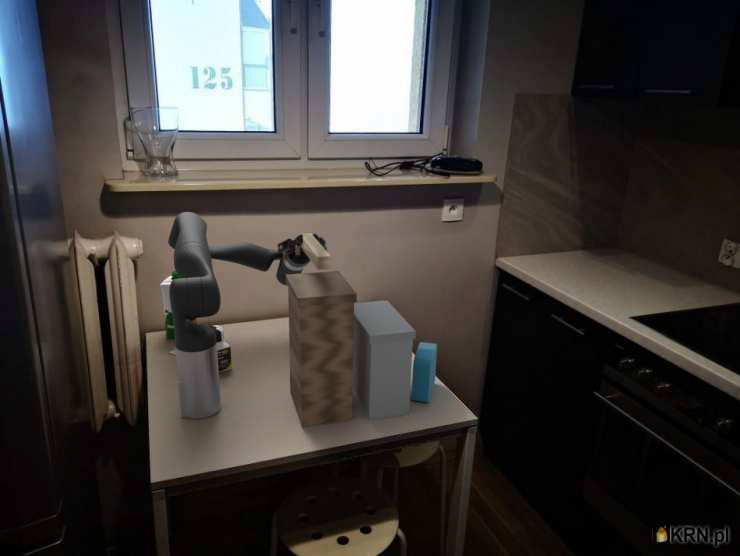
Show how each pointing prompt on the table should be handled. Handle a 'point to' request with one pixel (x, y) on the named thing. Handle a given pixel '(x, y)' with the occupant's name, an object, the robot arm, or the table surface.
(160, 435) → the table surface
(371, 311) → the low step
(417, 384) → the data package
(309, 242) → the birch rod
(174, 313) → the robot arm
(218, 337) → the medicine bottle
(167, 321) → the milk carton
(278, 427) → the table surface
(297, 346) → the wooden column with lip
